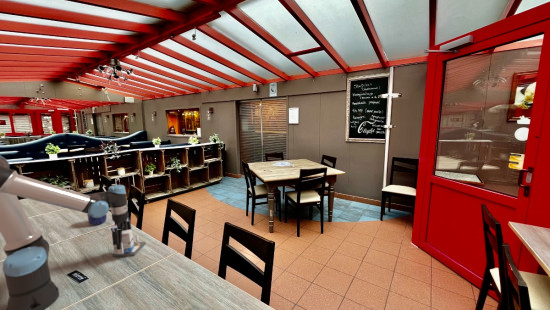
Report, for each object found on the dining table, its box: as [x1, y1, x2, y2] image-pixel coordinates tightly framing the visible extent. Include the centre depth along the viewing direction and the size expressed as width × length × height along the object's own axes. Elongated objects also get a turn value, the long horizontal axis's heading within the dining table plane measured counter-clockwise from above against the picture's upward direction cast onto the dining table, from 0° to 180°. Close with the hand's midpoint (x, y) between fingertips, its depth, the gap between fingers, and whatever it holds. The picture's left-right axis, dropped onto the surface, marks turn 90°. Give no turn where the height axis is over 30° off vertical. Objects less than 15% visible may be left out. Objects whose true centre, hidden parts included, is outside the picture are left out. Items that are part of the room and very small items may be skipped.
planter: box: [86, 213, 108, 226], centre depth 163 cm, size 11×11×11 cm
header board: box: [112, 234, 147, 258], centre depth 129 cm, size 12×12×8 cm
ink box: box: [112, 228, 134, 254], centre depth 124 cm, size 9×5×12 cm, turn 105°
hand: (124, 250), depth 125 cm, fingers closed on ink box, 6 cm apart
